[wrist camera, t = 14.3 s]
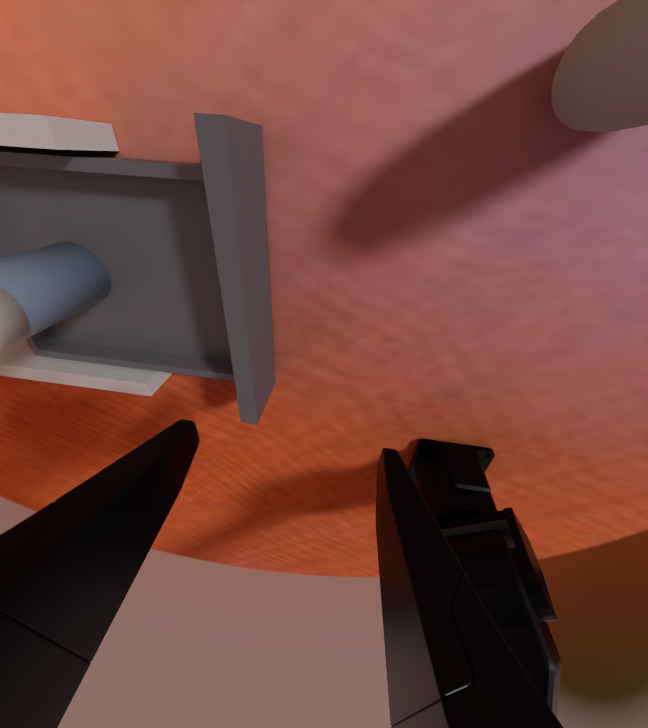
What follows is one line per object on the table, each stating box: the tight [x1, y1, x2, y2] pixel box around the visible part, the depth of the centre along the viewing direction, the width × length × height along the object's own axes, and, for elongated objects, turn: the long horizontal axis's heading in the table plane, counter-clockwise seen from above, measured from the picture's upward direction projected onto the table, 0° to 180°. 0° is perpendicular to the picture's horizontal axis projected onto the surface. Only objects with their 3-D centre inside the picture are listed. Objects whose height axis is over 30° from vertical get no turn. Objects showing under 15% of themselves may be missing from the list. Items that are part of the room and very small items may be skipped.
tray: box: [0, 113, 275, 424], centre depth 19 cm, size 18×17×5 cm
